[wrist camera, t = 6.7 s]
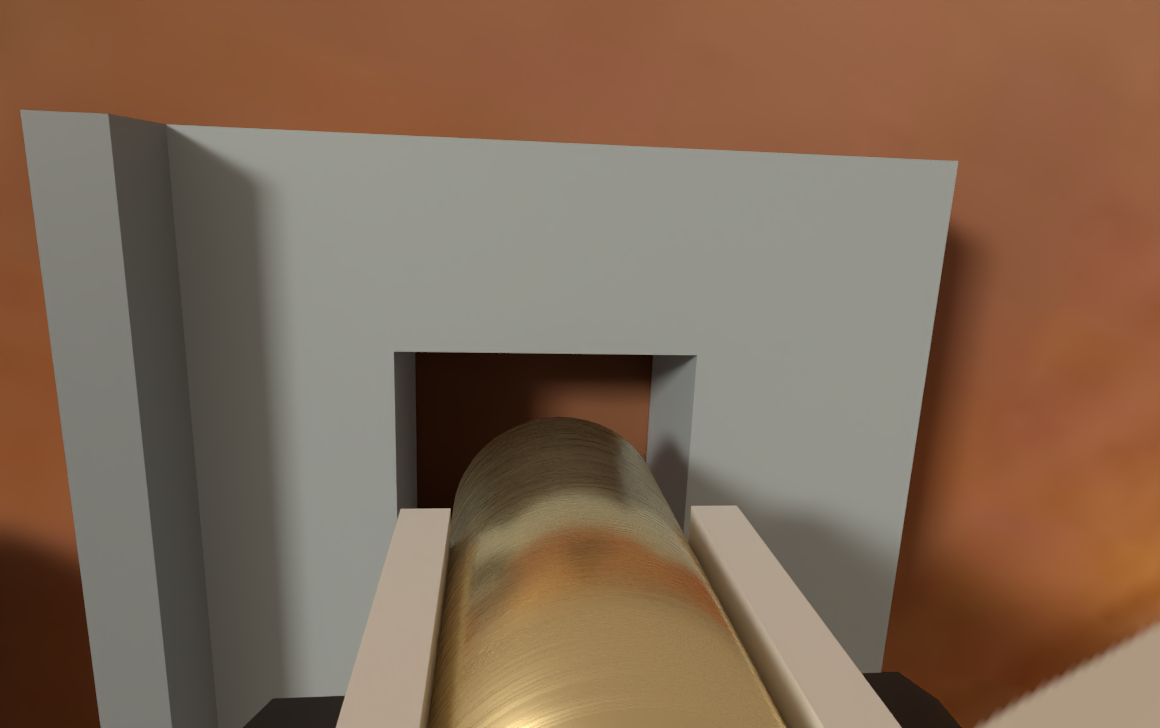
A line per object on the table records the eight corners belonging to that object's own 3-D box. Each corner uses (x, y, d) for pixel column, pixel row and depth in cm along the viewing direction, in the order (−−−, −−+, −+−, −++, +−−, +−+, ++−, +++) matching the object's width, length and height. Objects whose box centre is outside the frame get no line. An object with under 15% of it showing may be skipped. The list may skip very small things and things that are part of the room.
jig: (229, 680, 20) (121, 885, 14) (185, 135, 17) (19, 109, 11) (800, 658, 22) (913, 830, 16) (861, 165, 19) (1029, 158, 13)
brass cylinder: (454, 611, 15) (407, 1091, 7) (451, 418, 14) (390, 723, 6) (654, 604, 15) (819, 1046, 7) (663, 415, 14) (864, 695, 6)
